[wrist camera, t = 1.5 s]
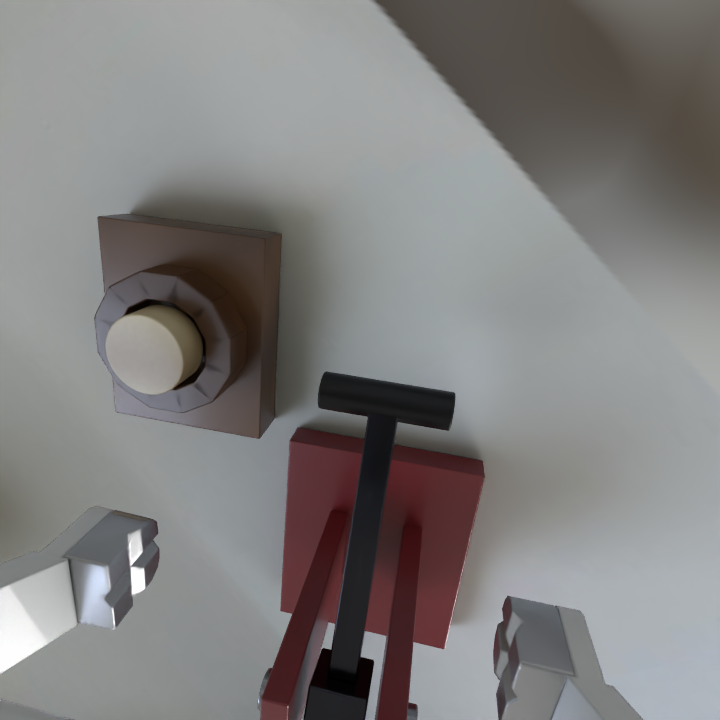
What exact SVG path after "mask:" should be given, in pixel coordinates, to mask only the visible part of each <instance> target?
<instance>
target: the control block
mask: <svg viewBox="0 0 720 720" xmlns="http://www.w3.org/2000/svg"><path fill="white" fill-rule="evenodd" d="M98 228H99V238H100V249H101V260H102V270H103V281H104V292H105V296H104V298H103V300H102V302H101V304H100V306H99V308H98V310H97V312H96V314H95V317H94V319H95V328H96V338H97V348H98V352H99V355H100V357H101V358H102V360H103V361H104V363H105V365H106V366H107V368H108V370H109V371H110V373H111V375H112V377H113V388H114V399H115V409H116V412H118V413H123V414H129V415H134V416H139V417H145V418H150V419H155V420H161V421H166V422H171V423H177V424H182V425H188V426H193V427H198V428H204V429H209V430H214V431H220V432H225V433H231V434H236V435H241V436H247V437H252V438H257V439H260V437H261V436H262V435H263V433H264V432H265V431H266V429H267V428H268V427H269V425H270V424H271V423H272V421H273V420H274V409H275V385H276V360H277V336H278V311H279V287H280V262H281V237H282V234H281V233H275V232H267V231H259V230H251V229H243V228H235V227H228V226H220V225H212V224H204V223H196V222H188V221H181V220H173V219H165V218H157V217H149V216H141V215H134V214H119V215H109V216H99V217H98ZM151 305H166V306H170V307H173V308H175V309H177V310H179V311H181V312H182V313H184V314H185V315H186V316H187V317H189V318H190V320H191V321H192V322H193V323H194V324H195V326H196V327H197V329H198V331H199V333H200V335H201V338H202V342H203V357H202V361H201V364H200V366H199V368H198V369H197V370H196V372H194V373H193V374H192V375H191V376H190V377H188V378H187V379H186V380H184V381H183V382H181V383H180V384H179V385H177V386H176V387H175V388H173V389H172V390H170V391H168V392H166V393H163V394H158V395H150V394H144V393H141V392H138V391H136V390H134V389H132V388H130V387H129V386H127V385H126V384H125V383H123V382H122V381H121V380H120V379H119V378H118V376H117V375H116V374H115V372H114V371H113V370H112V368H111V366H110V364H109V361H108V358H107V355H106V347H105V343H106V337H107V334H108V331H109V329H110V328H111V326H112V325H113V323H114V322H115V321H117V320H118V319H119V318H121V317H123V316H125V315H128V314H130V313H133V312H135V311H138V310H140V309H143V308H145V307H148V306H151Z"/></svg>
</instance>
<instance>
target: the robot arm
mask: <svg viewBox="0 0 720 720" xmlns="http://www.w3.org/2000/svg"><path fill="white" fill-rule="evenodd" d="M157 534H158V527H157V522H156V521H155V520H153V519H150V518H146V517H142V516H138V515H134V514H129V513H125V512H121V511H117V510H111V509H107V508H103V507H99V506H95V507H92V508H90V509H88V510H87V511H86V512H85V513H84V514H83V515H82V516H80V517H79V518H78V519H77V520H76V521H75V522H74V523H73V524H71V525H70V526H69V527H68V528H67V529H66V530H65V531H64V532H62V533H61V534H60V535H59V536H58V537H57V538H56V539H55V540H53V541H52V542H51V543H50V544H49V545H48V546H47V547H46V548H44V549H43V550H42V551H41V552H38V551H33V552H30V553H28V554H25V555H22V556H20V557H17V558H15V559H12V560H9V561H7V562H4V563H2V564H0V674H1V673H2V672H4V671H5V670H7V669H9V668H10V667H12V666H13V665H15V664H17V663H18V662H20V661H21V660H23V659H24V658H26V657H28V656H29V655H31V654H32V653H34V652H36V651H37V650H39V649H40V648H42V647H44V646H45V645H47V644H48V643H50V642H52V641H53V640H55V639H56V638H58V637H59V636H61V635H63V634H64V633H66V632H67V631H69V630H71V629H72V628H74V627H75V626H77V625H78V623H81V624H86V625H91V626H95V627H100V628H104V629H109V630H115V628H116V627H117V626H118V624H119V623H120V622H121V620H122V619H123V618H124V617H125V615H126V614H127V613H128V611H129V610H130V609H131V607H132V606H133V597H132V596H134V595H136V594H138V593H140V592H142V591H143V590H145V589H146V587H147V586H148V585H149V583H150V582H151V581H152V579H153V577H154V574H155V572H156V570H157V567H158V562H159V547H158V546H157V545H156V543H155V542H154V540H153V539H154V538H155V536H156V535H157ZM502 611H503V620H504V621H502V622H501V623H499V624H498V626H497V630H496V634H495V641H494V650H493V661H494V673H495V674H496V676H497V677H498V679H499V680H500V683H499V686H498V690H497V693H496V697H497V707H498V717H499V720H643V719H642V717H641V716H640V715H639V714H638V713H637V712H636V711H635V710H634V709H633V707H632V706H631V705H630V704H629V703H628V702H627V701H626V700H625V699H624V697H623V696H622V695H621V694H620V693H619V692H618V691H617V690H616V689H615V687H614V686H610V685H607V684H605V681H604V677H603V674H602V671H601V668H600V665H599V662H598V658H597V655H596V652H595V649H594V646H593V643H592V639H591V636H590V633H589V630H588V627H587V624H586V621H585V617H584V615H583V614H582V612H581V611H580V610H575V609H570V608H565V607H560V606H554V605H550V604H545V603H540V602H535V601H530V600H525V599H521V598H516V597H511V596H507V598H506V599H505V601H504V605H503V608H502ZM0 720H73V719H70V718H66V717H62V716H59V715H55V714H52V713H48V712H45V711H41V710H38V709H34V708H30V707H27V706H23V705H20V704H16V703H13V702H9V701H6V700H2V699H0Z"/></svg>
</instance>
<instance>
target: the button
mask: <svg viewBox="0 0 720 720" xmlns="http://www.w3.org/2000/svg"><path fill="white" fill-rule="evenodd" d="M105 347H106V355H107V358H108V361H109V364H110V366H111V368H112V370H113V371H114V372H115V374H116V375H117V376H118V378H119V379H120V380H121V381H122V382H123V383H125V384H126V385H127V386H129V387H130V388H132V389H134V390H136V391H138V392H141V393H144V394H150V395H158V394H163V393H166V392H168V391H170V390H172V389H173V388H175V387H176V386H177V385H179V384H180V383H181V382H183V381H184V380H186V379H187V378H188V377H190V376H191V375H192V374H193V373H194V372H196V370H197V369H198V368H199V366H200V364H201V361H202V357H203V342H202V338H201V335H200V333H199V331H198V329H197V327H196V326H195V324H194V323H193V322H192V321H191V320H190V318H189V317H187V316H186V315H185V314H184V313H182V312H181V311H179V310H177V309H175V308H173V307H170V306H166V305H151V306H148V307H145V308H143V309H140V310H138V311H135V312H133V313H130V314H128V315H125V316H123V317H121V318H119V319H118V320H117V321H115V322H114V323H113V325H112V326H111V328H110V329H109V331H108V334H107V337H106V343H105Z"/></svg>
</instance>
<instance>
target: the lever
mask: <svg viewBox="0 0 720 720" xmlns="http://www.w3.org/2000/svg"><path fill="white" fill-rule="evenodd" d="M318 406H319V408H321V409H327V410H332V411H338V412H344V413H350V414H355V415H361V416H367V417H368V420H367V427H366V433H365V439H364V446H363V452H362V458H361V465H360V471H359V478H358V484H357V490H356V497H355V503H354V509H353V516H352V522H351V528H350V535H349V541H348V548H347V554H346V560H345V567H344V573H343V579H342V586H341V592H340V598H339V605H338V611H337V617H336V624H335V630H334V637H333V643H332V649H331V650H329V649H325V648H323V649H322V650H321V653H320V656H319V659H318V661H317V664H316V667H315V670H314V673H313V676H312V679H311V681H310V684H309V688H308V694H307V700H306V707H305V713H304V720H365V717H366V710H367V704H368V698H369V692H370V685H371V679H372V673H373V666H374V661H373V660H371V659H367V658H363V657H361V652H362V645H363V639H364V633H365V627H366V620H367V614H368V608H369V601H370V595H371V589H372V582H373V576H374V570H375V564H376V557H377V551H378V545H379V538H380V532H381V526H382V519H383V513H384V507H385V501H386V494H387V488H388V482H389V475H390V469H391V463H392V456H393V450H394V444H395V438H396V431H397V425H398V422H401V423H407V424H413V425H418V426H424V427H430V428H436V429H441V430H447V431H449V430H450V428H451V424H452V419H453V414H454V407H455V393H454V392H448V391H442V390H436V389H430V388H424V387H418V386H412V385H405V384H399V383H393V382H387V381H381V380H375V379H369V378H363V377H357V376H351V375H345V374H338V373H332V372H325V373H324V374H323V376H322V379H321V383H320V387H319V393H318Z"/></svg>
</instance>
